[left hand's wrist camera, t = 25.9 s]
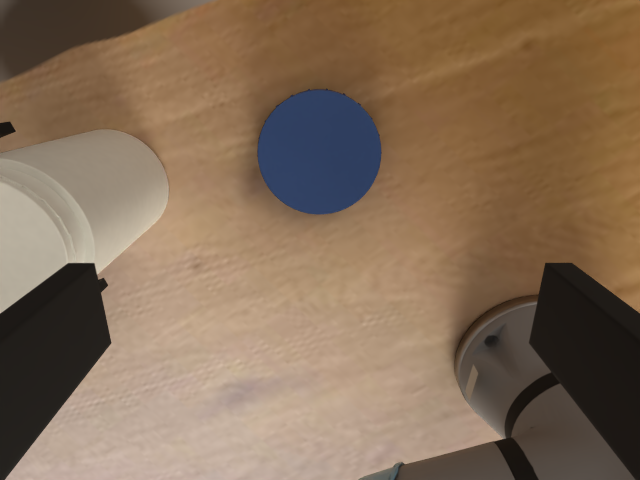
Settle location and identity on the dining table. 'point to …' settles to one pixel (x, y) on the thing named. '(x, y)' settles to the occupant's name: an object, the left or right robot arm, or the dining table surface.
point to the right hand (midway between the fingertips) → (53, 214)
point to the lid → (319, 151)
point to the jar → (74, 205)
